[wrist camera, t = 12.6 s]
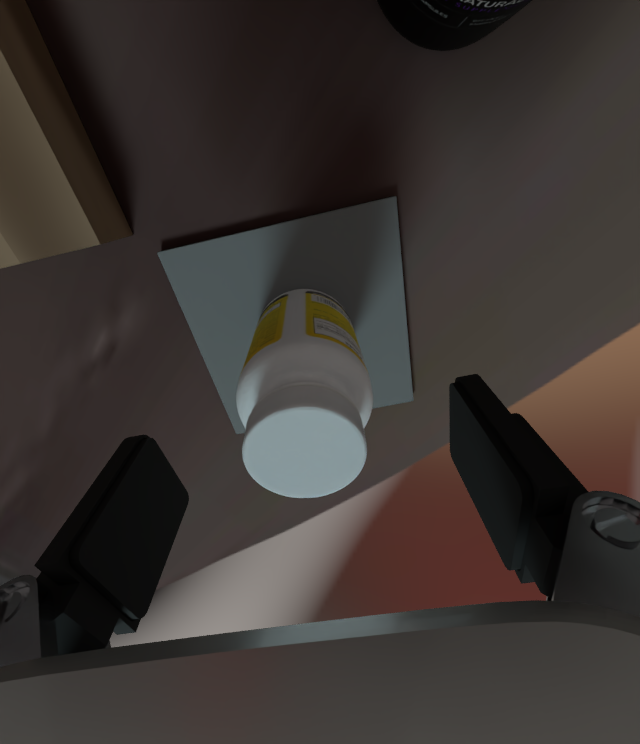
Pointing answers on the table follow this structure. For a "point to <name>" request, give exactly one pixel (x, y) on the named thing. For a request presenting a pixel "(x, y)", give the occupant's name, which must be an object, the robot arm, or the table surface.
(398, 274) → the mat
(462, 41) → the supplement bottle
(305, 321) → the supplement bottle
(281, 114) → the table surface
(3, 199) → the holder
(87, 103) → the table surface
